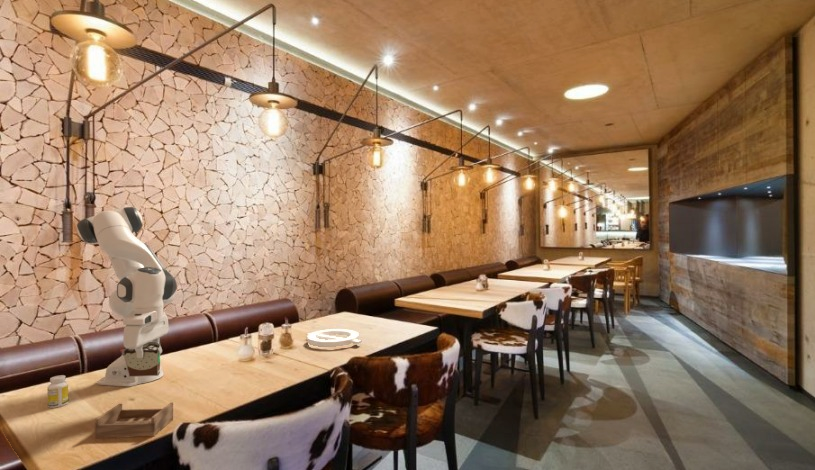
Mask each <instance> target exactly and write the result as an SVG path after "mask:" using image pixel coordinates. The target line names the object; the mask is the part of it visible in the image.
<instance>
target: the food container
mask: <svg viewBox="0 0 815 470" xmlns="http://www.w3.org/2000/svg"><path fill="white" fill-rule="evenodd" d="M160 345H161V343H160V344H159V343H156V342H148V343H146V344H144V345H143V348H142V349H143V352H145V356H144V357H142V358H137V353H136V351H135V349H126V348H125V349H123V351H122V352H121V356H122V355H124V358H125V362H126V366H127V370H128V374H129V377H138V376H158V375H159V373H160V362H161V354H162V353H163V349H162V346H160Z"/></svg>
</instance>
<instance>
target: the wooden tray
mask: <svg viewBox="0 0 815 470" xmlns="http://www.w3.org/2000/svg"><path fill="white" fill-rule="evenodd" d="M94 420H95V421H94V422H95V425H94V426H95V427H94V428H95V431H94V433H95V435H94V436H95V437H94V438H95V439H107V438H108V437H117V438H128V437H127V436H152V437H155V436H156V435H158V434H159V433H160V432H161V431H162V430H163V429H165V427H167V426H168V425H170V423H171V422H173V421H174V402H169V403H168V404H167V405H166V406H164V407H163V408H138V409H137V408H136V409H134V408H133V409H128V408H127V409H123V403H118V404H117V405H116V406H113V407H112V408H110V409H109V410H107V411H106V412H105V413H103V414H101V415H99V416H97V417H96V418H95V419H94ZM159 431H160V432H159ZM158 432H159V433H158ZM154 435H155V436H154ZM125 436H126V437H125Z"/></svg>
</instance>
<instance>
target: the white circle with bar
mask: <svg viewBox="0 0 815 470" xmlns="http://www.w3.org/2000/svg"><path fill="white" fill-rule="evenodd" d="M336 334H338V335H347V336H349V337H347V338H343V337H336V336H329V335H336ZM359 336H360V335H359V332H357V331H355V330H351V329H345V328H343V329H342V328H333V329H331V328H329V329H323V330H316V331H314V332H309V333H306V339H307V341H306V342H308V343H309V344H310V345H313V346H318V347H336V346H343V345H349V344H351V343H353V344H359V343H361V342H362V339H359V338H360V337H359ZM319 338H321V339H319ZM325 339H328V340H325ZM358 339H359V340H358Z"/></svg>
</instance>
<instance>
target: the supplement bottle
mask: <svg viewBox="0 0 815 470" xmlns="http://www.w3.org/2000/svg"><path fill="white" fill-rule="evenodd" d="M66 380H67V379H66V375H64V374H61V375H55V376H52V377H50V379H49V382H50V384H48V386H47V390H46V391H47V408H50V409H54V408H55V409H56V408H60V407H62V406H65V405H67V404H68V403H69V382H68V381H66Z"/></svg>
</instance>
